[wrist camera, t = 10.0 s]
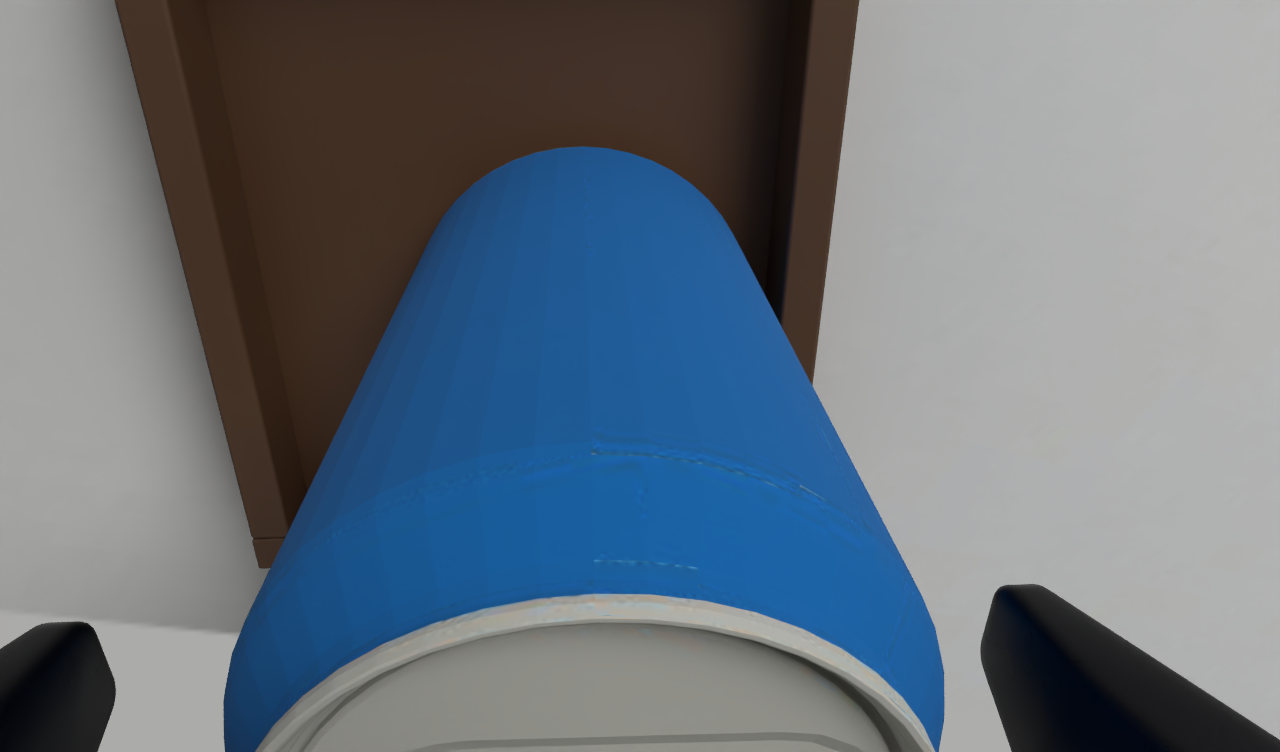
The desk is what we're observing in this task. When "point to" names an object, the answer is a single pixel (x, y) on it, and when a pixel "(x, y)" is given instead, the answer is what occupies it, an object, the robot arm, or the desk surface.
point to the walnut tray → (450, 166)
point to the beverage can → (585, 508)
